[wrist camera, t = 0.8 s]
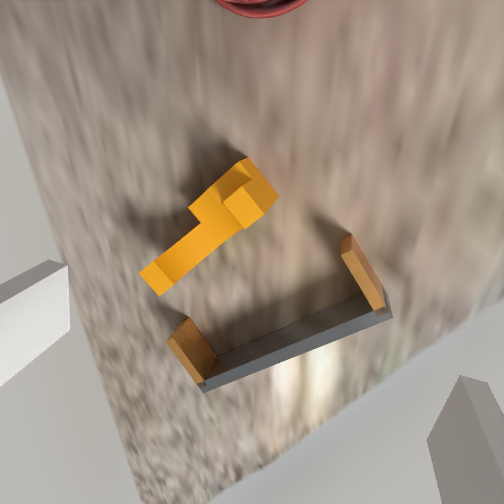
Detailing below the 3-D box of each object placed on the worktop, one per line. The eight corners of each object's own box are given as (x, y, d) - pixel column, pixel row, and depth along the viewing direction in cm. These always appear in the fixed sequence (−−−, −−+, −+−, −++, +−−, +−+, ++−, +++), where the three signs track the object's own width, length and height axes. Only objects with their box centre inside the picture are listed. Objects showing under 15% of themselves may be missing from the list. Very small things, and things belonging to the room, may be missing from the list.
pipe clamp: (248, 157, 32) (226, 166, 26) (279, 196, 33) (264, 214, 27) (160, 234, 37) (125, 257, 31) (188, 267, 37) (159, 296, 32)
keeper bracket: (182, 320, 40) (165, 341, 36) (351, 234, 32) (352, 249, 28) (216, 368, 41) (203, 393, 37) (388, 295, 33) (392, 317, 29)
